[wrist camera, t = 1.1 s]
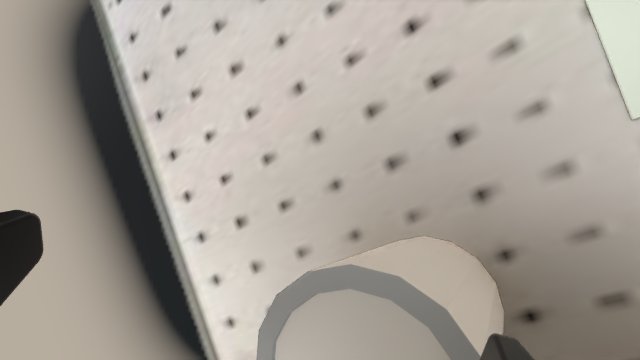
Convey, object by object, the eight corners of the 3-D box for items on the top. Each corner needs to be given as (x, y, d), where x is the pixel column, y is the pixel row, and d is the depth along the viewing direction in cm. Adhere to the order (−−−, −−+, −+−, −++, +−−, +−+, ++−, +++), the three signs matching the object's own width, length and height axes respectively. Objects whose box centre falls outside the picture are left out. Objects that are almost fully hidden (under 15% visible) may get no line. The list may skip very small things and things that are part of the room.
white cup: (552, 264, 16) (543, 345, 10) (484, 424, 18) (441, 580, 12) (375, 195, 19) (284, 225, 13) (331, 338, 21) (231, 427, 14)
